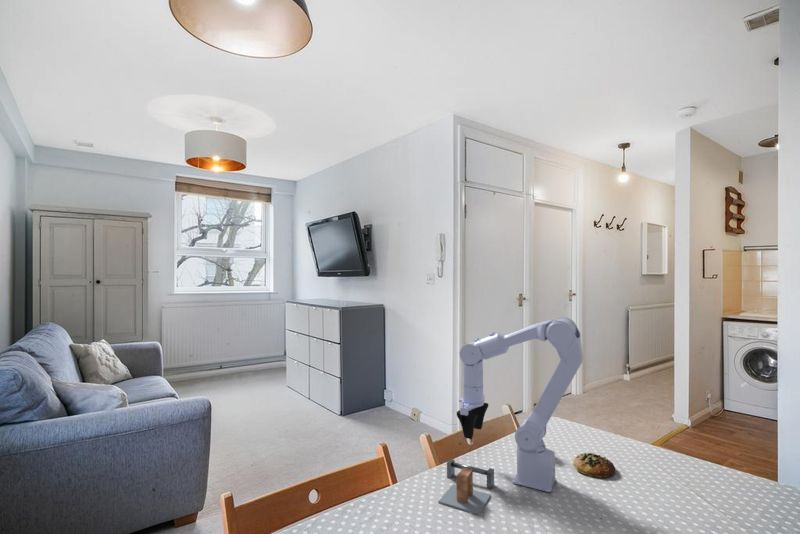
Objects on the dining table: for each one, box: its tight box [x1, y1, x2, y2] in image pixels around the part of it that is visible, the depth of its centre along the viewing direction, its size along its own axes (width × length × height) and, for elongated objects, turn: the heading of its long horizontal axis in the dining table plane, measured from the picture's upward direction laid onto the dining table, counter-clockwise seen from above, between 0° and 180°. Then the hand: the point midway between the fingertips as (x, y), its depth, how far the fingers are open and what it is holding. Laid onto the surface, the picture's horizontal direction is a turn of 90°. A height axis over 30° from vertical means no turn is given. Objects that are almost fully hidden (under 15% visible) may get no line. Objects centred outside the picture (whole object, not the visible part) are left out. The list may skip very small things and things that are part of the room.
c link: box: [456, 468, 474, 504], centre depth 99 cm, size 2×5×6 cm, turn 150°
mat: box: [438, 483, 492, 516], centre depth 99 cm, size 10×9×1 cm
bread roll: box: [572, 452, 617, 479], centre depth 114 cm, size 11×11×5 cm
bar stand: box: [446, 458, 495, 490], centre depth 107 cm, size 12×2×4 cm, turn 60°
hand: (473, 433), depth 116 cm, fingers open, 7 cm apart
